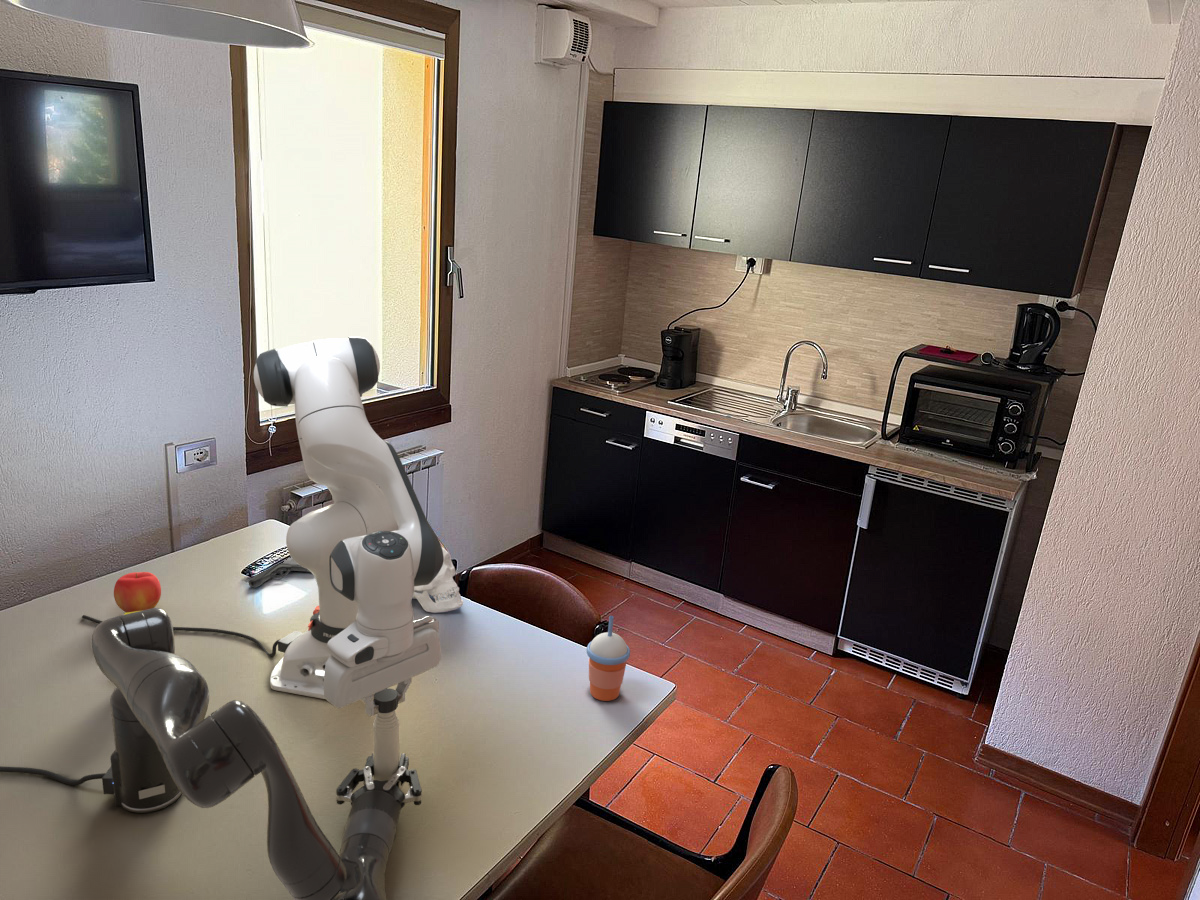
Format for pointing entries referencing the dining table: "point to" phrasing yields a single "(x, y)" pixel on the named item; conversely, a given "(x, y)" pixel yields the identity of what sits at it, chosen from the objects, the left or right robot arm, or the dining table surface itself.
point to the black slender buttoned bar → (285, 566)
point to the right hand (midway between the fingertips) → (385, 707)
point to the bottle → (385, 745)
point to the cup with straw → (607, 664)
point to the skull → (440, 589)
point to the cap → (386, 700)
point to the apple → (137, 591)
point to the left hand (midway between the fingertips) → (388, 757)
